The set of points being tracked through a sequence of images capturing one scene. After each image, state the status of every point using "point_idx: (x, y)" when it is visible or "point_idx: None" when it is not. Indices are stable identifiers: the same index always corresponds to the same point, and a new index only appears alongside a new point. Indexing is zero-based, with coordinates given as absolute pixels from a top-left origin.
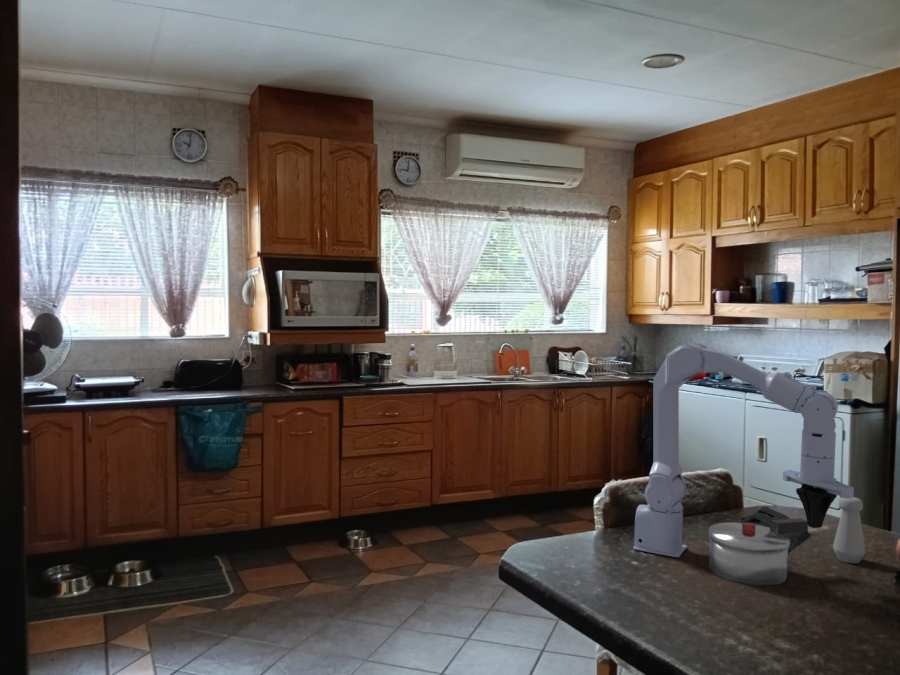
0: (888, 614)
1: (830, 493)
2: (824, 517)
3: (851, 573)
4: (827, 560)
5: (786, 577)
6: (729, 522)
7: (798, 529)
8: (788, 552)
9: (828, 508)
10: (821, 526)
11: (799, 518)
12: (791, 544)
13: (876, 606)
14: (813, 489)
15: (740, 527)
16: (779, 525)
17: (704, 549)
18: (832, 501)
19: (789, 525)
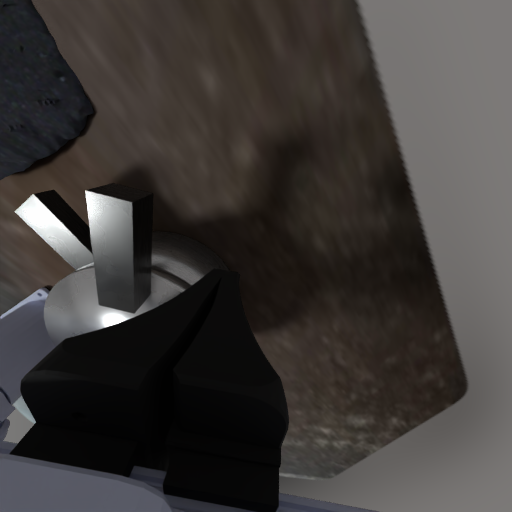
0: (424, 258)
1: (277, 467)
2: (239, 292)
3: (263, 84)
4: (162, 37)
5: (225, 267)
6: (44, 316)
7: (147, 232)
8: (87, 100)
9: (247, 321)
10: (239, 277)
11: (88, 195)
12: (27, 23)
13: (395, 242)
14: (143, 463)
15: (88, 327)
16: (137, 304)
17: (53, 264)
18: (261, 353)
19: (138, 272)
